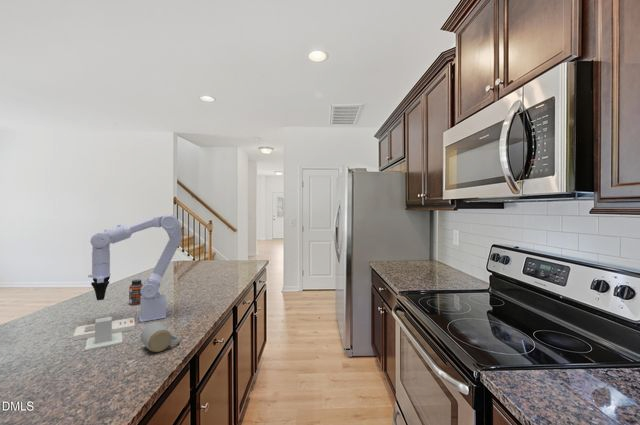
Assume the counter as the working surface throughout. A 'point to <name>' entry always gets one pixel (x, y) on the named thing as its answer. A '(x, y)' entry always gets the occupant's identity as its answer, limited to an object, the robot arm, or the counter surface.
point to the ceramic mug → (157, 337)
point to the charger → (103, 330)
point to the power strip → (116, 328)
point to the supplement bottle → (135, 292)
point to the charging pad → (91, 342)
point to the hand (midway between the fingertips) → (100, 297)
